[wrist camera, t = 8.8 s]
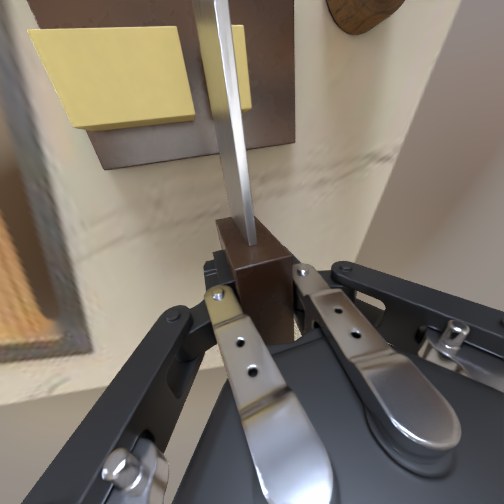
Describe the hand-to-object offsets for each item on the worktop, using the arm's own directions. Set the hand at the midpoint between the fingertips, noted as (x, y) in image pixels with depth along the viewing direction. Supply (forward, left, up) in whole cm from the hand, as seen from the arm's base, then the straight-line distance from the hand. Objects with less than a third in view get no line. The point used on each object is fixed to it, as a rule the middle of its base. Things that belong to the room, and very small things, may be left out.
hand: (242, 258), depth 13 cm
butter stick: (+10, +4, -8) cm, 14 cm away
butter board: (+10, 0, -9) cm, 14 cm away
